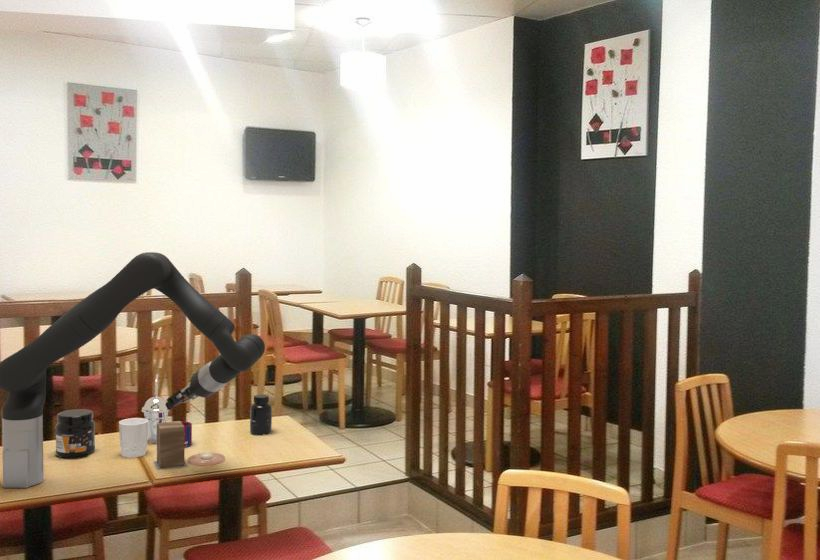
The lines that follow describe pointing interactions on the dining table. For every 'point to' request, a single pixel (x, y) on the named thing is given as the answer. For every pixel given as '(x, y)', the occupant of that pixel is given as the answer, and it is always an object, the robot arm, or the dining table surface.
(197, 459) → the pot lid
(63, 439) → the supplement container
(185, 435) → the mug
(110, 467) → the dining table surface
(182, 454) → the tall wooden block
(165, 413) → the cup with straw
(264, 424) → the supplement bottle
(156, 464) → the coaster
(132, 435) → the white cup
